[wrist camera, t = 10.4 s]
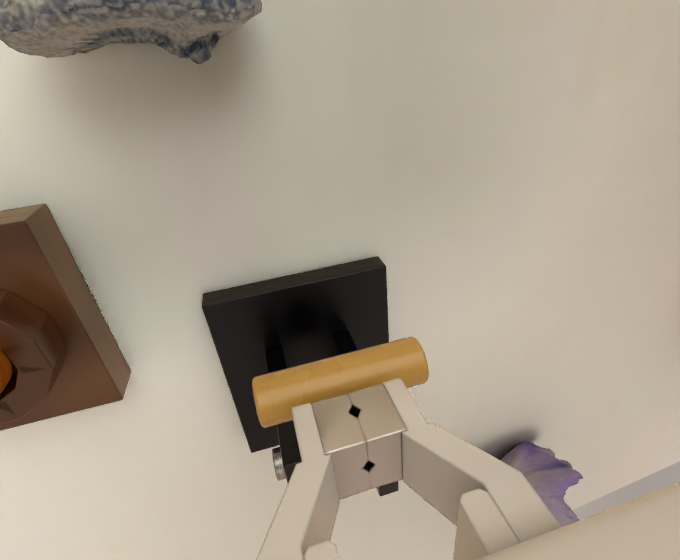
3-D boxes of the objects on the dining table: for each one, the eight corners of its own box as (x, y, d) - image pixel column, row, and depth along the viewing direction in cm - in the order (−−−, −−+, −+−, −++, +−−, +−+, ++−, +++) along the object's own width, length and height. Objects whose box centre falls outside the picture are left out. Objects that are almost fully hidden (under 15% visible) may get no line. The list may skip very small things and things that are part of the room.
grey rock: (31, 51, 14) (16, 114, 12) (-36, -73, 12) (-78, -31, 9) (250, 26, 17) (284, 74, 14) (235, -84, 14) (273, -53, 11)
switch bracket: (202, 293, 21) (192, 422, 13) (378, 255, 23) (455, 351, 15) (249, 437, 27) (261, 580, 20) (385, 399, 29) (442, 516, 21)
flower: (450, 560, 30) (582, 602, 29) (479, 451, 30) (611, 490, 29) (430, 497, 39) (529, 527, 38) (452, 413, 39) (551, 442, 38)
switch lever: (246, 354, 11) (260, 439, 10) (408, 314, 12) (441, 387, 11) (283, 442, 20) (293, 492, 19) (373, 416, 21) (389, 462, 20)
